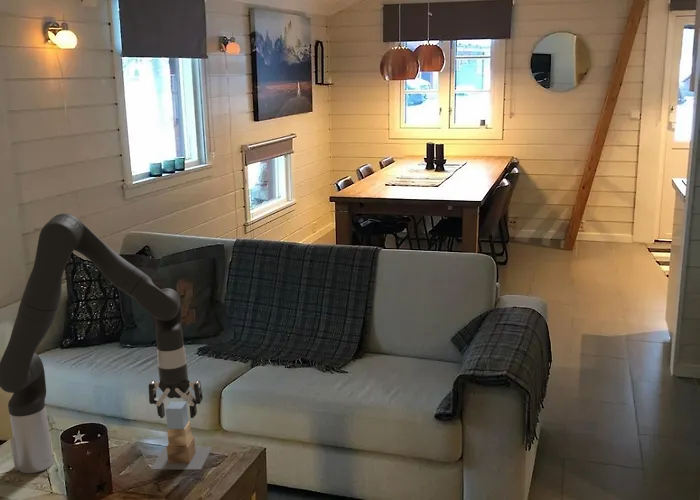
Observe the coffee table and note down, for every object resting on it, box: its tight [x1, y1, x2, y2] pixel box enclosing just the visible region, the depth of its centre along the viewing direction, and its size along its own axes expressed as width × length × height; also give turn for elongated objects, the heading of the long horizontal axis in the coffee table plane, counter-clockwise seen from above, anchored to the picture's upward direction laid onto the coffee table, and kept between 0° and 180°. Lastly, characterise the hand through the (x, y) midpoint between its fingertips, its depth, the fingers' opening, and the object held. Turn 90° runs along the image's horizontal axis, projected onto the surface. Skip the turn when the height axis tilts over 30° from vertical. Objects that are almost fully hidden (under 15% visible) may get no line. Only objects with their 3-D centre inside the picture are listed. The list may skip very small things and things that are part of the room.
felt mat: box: [150, 446, 213, 471], centre depth 208 cm, size 14×12×1 cm
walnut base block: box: [166, 435, 196, 463], centre depth 208 cm, size 6×6×5 cm
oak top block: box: [167, 420, 193, 446], centre depth 206 cm, size 5×5×5 cm
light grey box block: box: [165, 401, 189, 429], centre depth 205 cm, size 4×4×6 cm
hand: (177, 416), depth 205 cm, fingers open, 8 cm apart
